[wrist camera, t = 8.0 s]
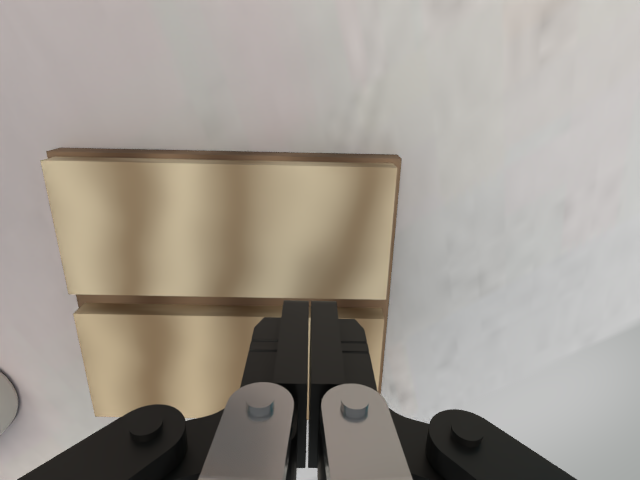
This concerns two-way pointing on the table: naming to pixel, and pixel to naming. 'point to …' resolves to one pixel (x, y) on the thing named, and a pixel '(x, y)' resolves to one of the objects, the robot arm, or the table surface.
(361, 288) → the oak plank
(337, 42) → the table surface
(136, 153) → the floor board
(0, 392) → the milk bottle
